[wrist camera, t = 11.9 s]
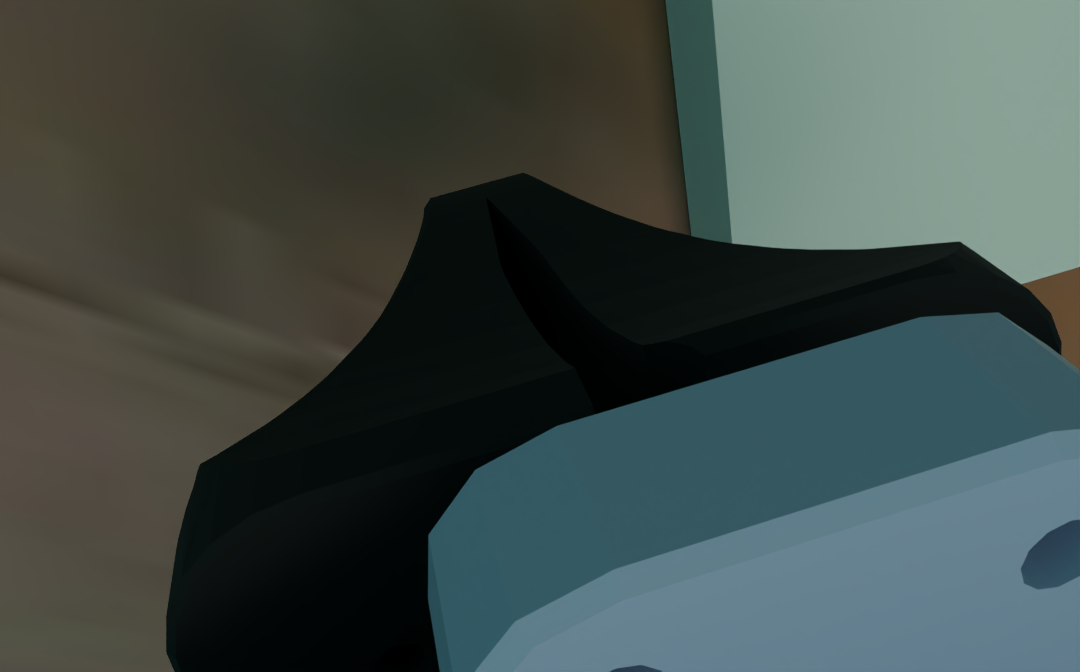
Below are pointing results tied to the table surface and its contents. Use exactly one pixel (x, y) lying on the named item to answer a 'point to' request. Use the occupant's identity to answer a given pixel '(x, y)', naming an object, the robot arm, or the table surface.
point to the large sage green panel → (883, 125)
